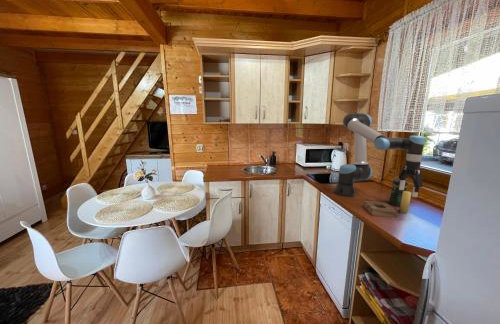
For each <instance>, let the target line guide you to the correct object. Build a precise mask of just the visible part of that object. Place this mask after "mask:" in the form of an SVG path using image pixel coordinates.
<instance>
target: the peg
mask: <svg viewBox="0 0 500 324" xmlns="http://www.w3.org/2000/svg"><path fill="white" fill-rule="evenodd" d="M411 197H412V191H408V190H406V191H403V194H402V199H401V205H400V206H399V211H398V213H401V214H403V215H404V214H406V215H407V214H409V213H408V212H409V207H410V204H411V203H410V202H411Z"/></svg>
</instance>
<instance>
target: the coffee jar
mask: <svg viewBox="0 0 500 324" xmlns="http://www.w3.org/2000/svg"><path fill="white" fill-rule="evenodd" d="M391 185H392V187H391V193H390V196H389V203H390V204H392V205H393V206H397V207H400V205H401V199H402V194H403V191H408V190H407V189H408V186H409V182H408V181H406V180H405V187H404V190H399V186H400V178H398V177H397V178H394V179H393V180H392V183H391Z"/></svg>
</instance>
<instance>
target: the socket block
mask: <svg viewBox="0 0 500 324" xmlns="http://www.w3.org/2000/svg"><path fill="white" fill-rule="evenodd" d="M363 208H364V209H365V210H366V211H367V212H368V213H369V215H371V216H372V217H373V216H374V217H387V218H397V216H398V215H397V214H398V211H397V210H396V209H395V208H393V207H392V206H391V205H390V204H388V203H387V202H382V201H370V200H364V201H363Z"/></svg>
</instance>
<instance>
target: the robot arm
mask: <svg viewBox="0 0 500 324" xmlns="http://www.w3.org/2000/svg"><path fill="white" fill-rule="evenodd" d="M372 120H373V119H372V117H371V116H370V115H369V114H368V113H363V112H362V113H358V112H357V113H356V112H355V113H353V112H350V113H348V114H346V115H345V116H344V117H343V119H342V126H344V128H346V129H347V130H349V131H352V132H353V135H354V162H353V163H352V164H351V163H350V164H348V163H347V164H346V163H345V164H342V165H340V166H339V170H338V171H339V172H338V178H337V179H338V180H337V184H336V186H335V188H334V193H335V194H337V195H338V196H341V197H342V196H343V197H347V198H348V197H349V198H350V197H355V196H356V190H355V186H354V185H355V182H356V181H365V180H369V179H370V178H372V175H373V168H372V167H371V166H370V164H369V162H368V160H367V159H368V158H367V156H368V154H367V153H368V150H367V141H369V142H370V143H372V144H373V145H374V148H376V149H377V150H381V151H385V150H386V151H387V150H403V151H406V156H405V159H406V160H405V163H404V166H403V167H402V169H401V172H400V173H399V175H398V177H397V178H398V179H400V186H399V190H404V187H405V181H406V179H407V178H408V177H409V176H410V177H411V180H412V182H413V187H412V191H411V197H412V198H418V195H419V194H418V193H419V191H420V188H423V180H422V179H423V178H422V170H418V169H419V168H420V167H421V163H422V162H421V161H422V158H423V151H424V146H425V140H426V137H425V136H423V135H410V136H409V138H407V137H406V138H405V137H398V136H397V137H395V136H394V137H387V136H386V135H384V134H382V133H380V132H378V131H376V130H375V129H373V128H371V125H372V122H373V121H372Z"/></svg>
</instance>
